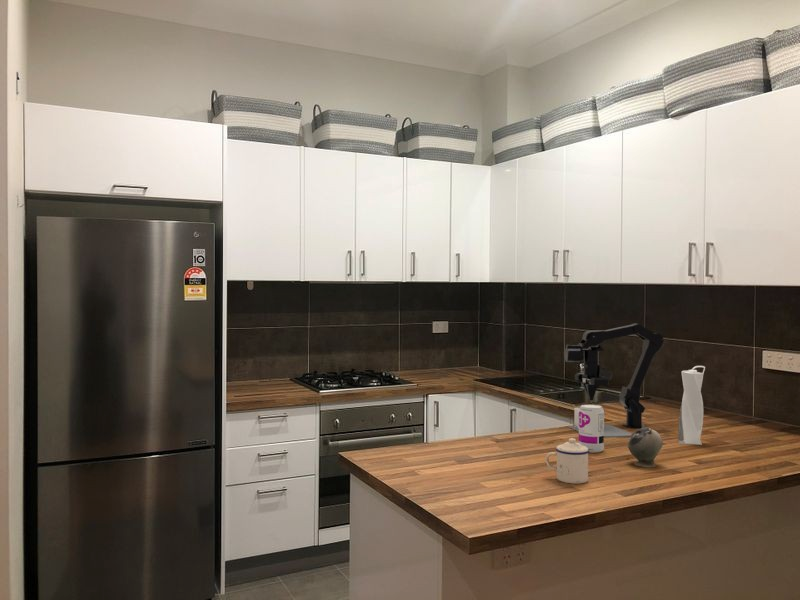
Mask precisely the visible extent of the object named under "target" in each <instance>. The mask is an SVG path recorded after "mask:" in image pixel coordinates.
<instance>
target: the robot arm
mask: <svg viewBox="0 0 800 600" xmlns="http://www.w3.org/2000/svg"><path fill="white" fill-rule="evenodd" d="M630 335H635V336H637V337H638V338H639V339H640V340H642V352H641V355H640V357H639V360H638V362H637V364H636V367H635V369H634V372H633V374H632V377H631V379H630V381H629V384H628V385H627V386H626V387H625V386H621V387H622V388H621V391H620V393H619V394H618V396H619V402H620V404H621V405H622V406H623V408H624V410H626V413H625V414H626V417H625V421H626V423H622V426H625V427H627V426H628V428H631V429H632V428H633V429H635V428H636V427H638V428H642V427H643V426H644V424H642V423H643V419H642V418H643V415H642V414H643V413H644V412H645V410H646V407H645V406H644V405H643V404H642V403H641V402H640V401H641V389H642V386H643V384H644V381H645V379H646V375H647V373H648V371H649V368H650V366H651V363H652V361H653V359H654V356H656V355H657V354H658V352H659V351H660V350H661V348H662V347H663V345H664V343H665V338H664V336H662V334H661V333H657V332H653V331H651V330H650V329H648V328H646V327H644V326H642V325H641V324H640V323H631V324H629V325H624V326H619V327H614V328H610V329H605V330H602V329H601V330H587V331H584V333H583V335H582V338H581V340H580V341H579V343H577V345H575V344H574V345H572V344H571V345H570V344H566V345H565V349H564V354H563V355H564V360H565V362H566V363H575V362H577V363H580V362H581V361H582V360H583V363H582V364H581V367H583V372H577V373H576V374H574V380H575V381H579V380H580V381H582V382H580V384H581V385H582V387H583V390H584V391H585V394H586V395H587V397H588V400H589V401H593V400H594V398H595V395H596V392H597V389H598V388H599V387H600V386H609V385H610V382H609V381H611V379H612V377H613V372H612V371H608V370H606V368H605V367H603V366H602V365H601V364H599V363H600V362H599V359H600V358H599V354H600V352H603V351H604V350H605V349H604V348H603V347H602V346H601V344H602V343H604V342H606V341H608V340H612V339H616V338H621V337H626V336H630Z"/></svg>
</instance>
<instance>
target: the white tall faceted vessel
mask: <svg viewBox="0 0 800 600" xmlns="http://www.w3.org/2000/svg"><path fill="white" fill-rule="evenodd" d="M697 368H703V370H702V372H699V371H698V369H697ZM705 370H706V366H704V365H695V366H694V367H692V368H691V369H688V370H682V371H681V378H682V386H683V394H682V399H681V400H682V401H681V406H680V407H679V408H680V410H679V418H678V430H677V431H678V437H677V438H678V439H677V441H678V442H679V444H680V445H693V446H703V444H702V441H701V436H702V432H703V431H702V430H703V423H704V400H703V396H702V392H701V391H702V385H703V381H704V380H703V379H704V373H705Z"/></svg>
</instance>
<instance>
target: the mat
mask: <svg viewBox="0 0 800 600" xmlns="http://www.w3.org/2000/svg"><path fill="white" fill-rule="evenodd" d="M574 426H575V425H567V428H569V427H571V428H572V430H573V429H574V430H573V431H575V430H576V432H578V433H579V429H578V428H577V427H574ZM571 428H570V429H571ZM632 434H633V432H629V431H627V430H624V429H621V428H619V427H617V426H614V425H611V424H609V425H608V424H604V438H621V437H622V438H625V437H631V435H632Z"/></svg>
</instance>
